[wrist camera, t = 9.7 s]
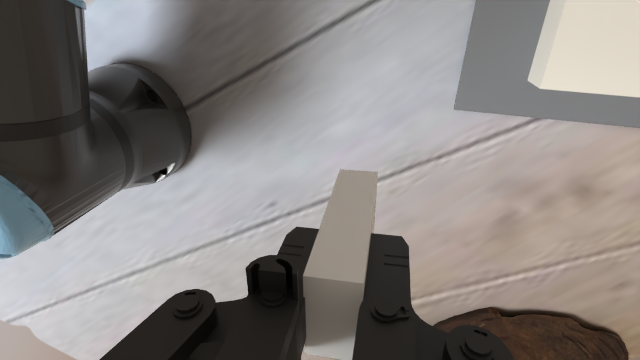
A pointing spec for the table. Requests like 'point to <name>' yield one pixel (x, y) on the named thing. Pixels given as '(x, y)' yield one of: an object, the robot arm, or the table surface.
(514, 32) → the mat
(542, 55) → the tall block
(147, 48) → the table surface
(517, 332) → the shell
